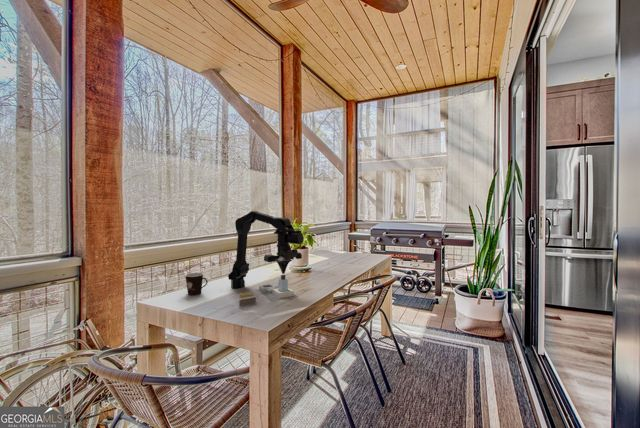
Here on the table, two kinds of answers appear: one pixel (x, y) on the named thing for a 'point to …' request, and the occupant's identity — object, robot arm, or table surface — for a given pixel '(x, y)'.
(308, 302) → the table surface
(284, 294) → the port block
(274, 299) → the panel board
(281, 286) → the plug
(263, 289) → the hollow square tube
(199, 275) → the coffee mug
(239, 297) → the platform
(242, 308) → the table surface
